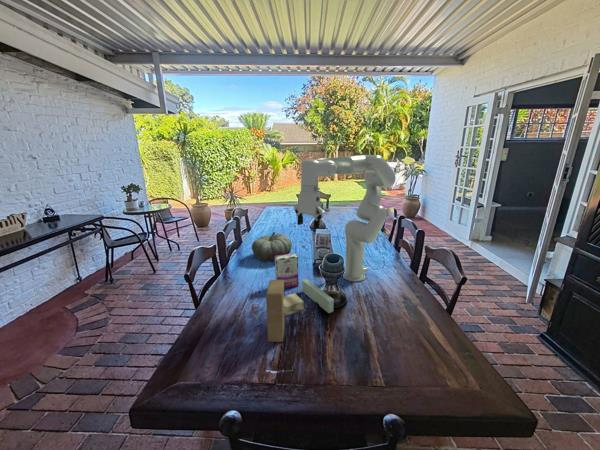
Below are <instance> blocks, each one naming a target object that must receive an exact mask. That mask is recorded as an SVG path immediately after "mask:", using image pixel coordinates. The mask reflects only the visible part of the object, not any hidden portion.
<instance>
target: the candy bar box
mask: <svg viewBox="0 0 600 450" xmlns="http://www.w3.org/2000/svg"><path fill="white" fill-rule="evenodd" d="M274 265H275V266H274V267H275V268H274V269H275V271H274V273H275V280H284V289H287V288H294V287H299V257H298V255H297V253H289V254H287V255H278V256H275V260H274Z"/></svg>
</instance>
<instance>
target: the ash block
mask: <svg viewBox="0 0 600 450" xmlns="http://www.w3.org/2000/svg"><path fill="white" fill-rule="evenodd" d="M304 302H305V301H304V300H303V299H302V298H301V297H300V296H298V294H296V292H293V293H291V294H287V295H284V300H283V314H284V315H285V317H287V316H290V315H293V314H296V313H298V312H302V311H304Z"/></svg>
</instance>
